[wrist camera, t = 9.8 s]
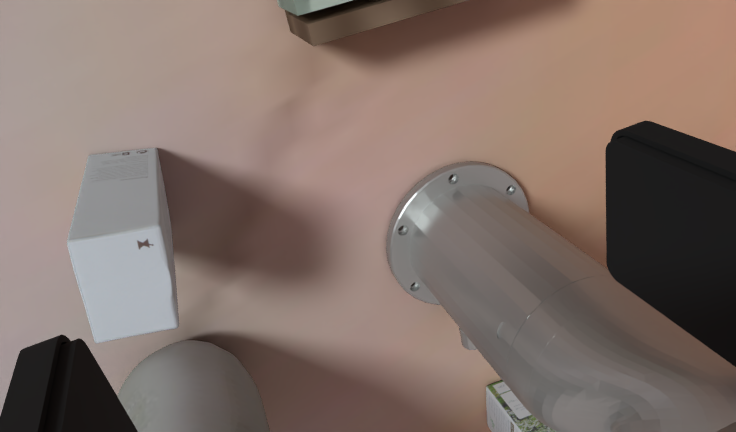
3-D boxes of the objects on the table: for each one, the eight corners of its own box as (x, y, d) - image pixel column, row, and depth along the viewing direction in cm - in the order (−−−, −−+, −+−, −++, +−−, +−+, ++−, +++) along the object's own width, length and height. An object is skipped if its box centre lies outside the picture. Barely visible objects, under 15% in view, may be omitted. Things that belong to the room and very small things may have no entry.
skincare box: (85, 153, 36) (63, 237, 26) (157, 145, 37) (163, 223, 27) (106, 240, 39) (93, 347, 29) (172, 229, 40) (183, 329, 30)
